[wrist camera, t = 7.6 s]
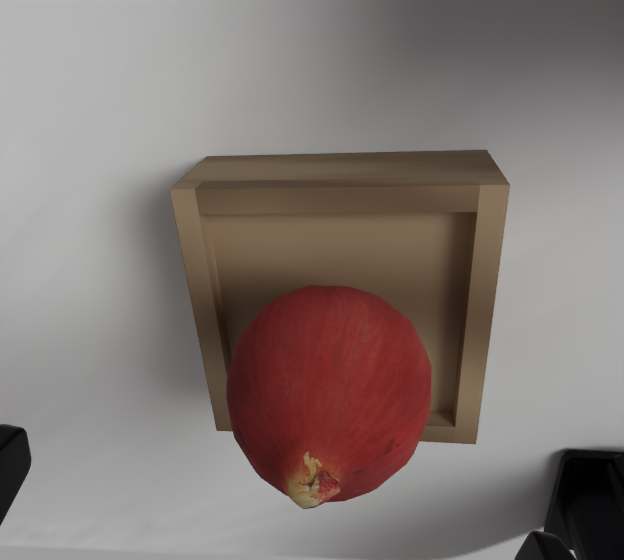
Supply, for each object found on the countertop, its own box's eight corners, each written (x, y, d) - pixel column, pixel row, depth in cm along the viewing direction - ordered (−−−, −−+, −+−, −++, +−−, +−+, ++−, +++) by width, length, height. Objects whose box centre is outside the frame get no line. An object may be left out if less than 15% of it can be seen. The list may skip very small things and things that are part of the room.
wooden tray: (462, 378, 22) (475, 443, 19) (240, 370, 24) (216, 430, 20) (486, 149, 18) (509, 184, 14) (207, 156, 19) (169, 190, 16)
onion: (391, 406, 19) (384, 625, 12) (247, 358, 19) (157, 547, 12) (453, 276, 17) (489, 460, 10) (285, 221, 17) (198, 362, 10)
